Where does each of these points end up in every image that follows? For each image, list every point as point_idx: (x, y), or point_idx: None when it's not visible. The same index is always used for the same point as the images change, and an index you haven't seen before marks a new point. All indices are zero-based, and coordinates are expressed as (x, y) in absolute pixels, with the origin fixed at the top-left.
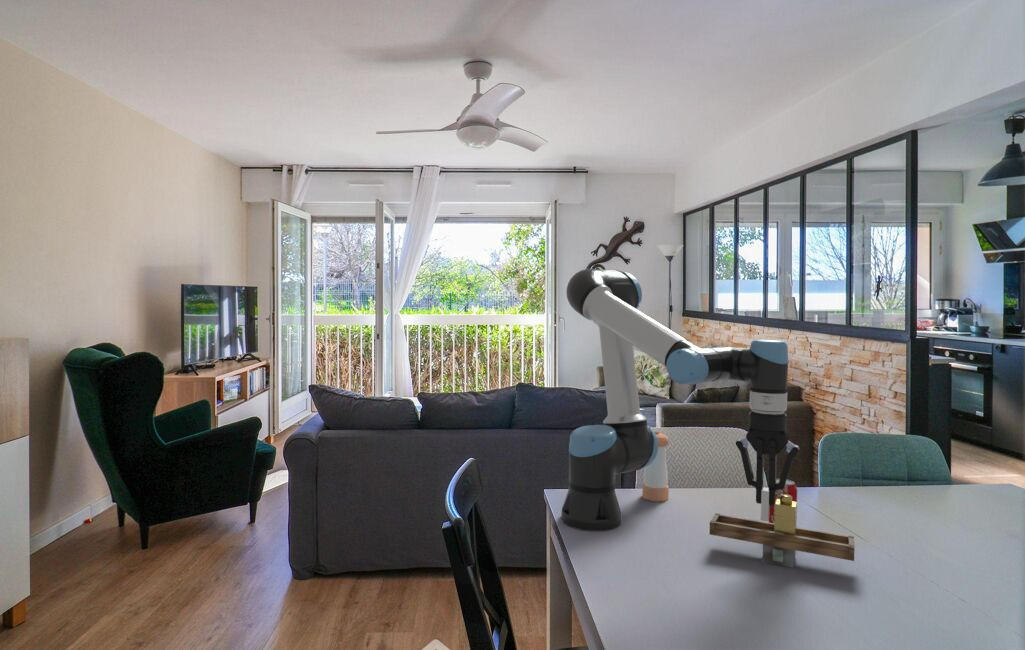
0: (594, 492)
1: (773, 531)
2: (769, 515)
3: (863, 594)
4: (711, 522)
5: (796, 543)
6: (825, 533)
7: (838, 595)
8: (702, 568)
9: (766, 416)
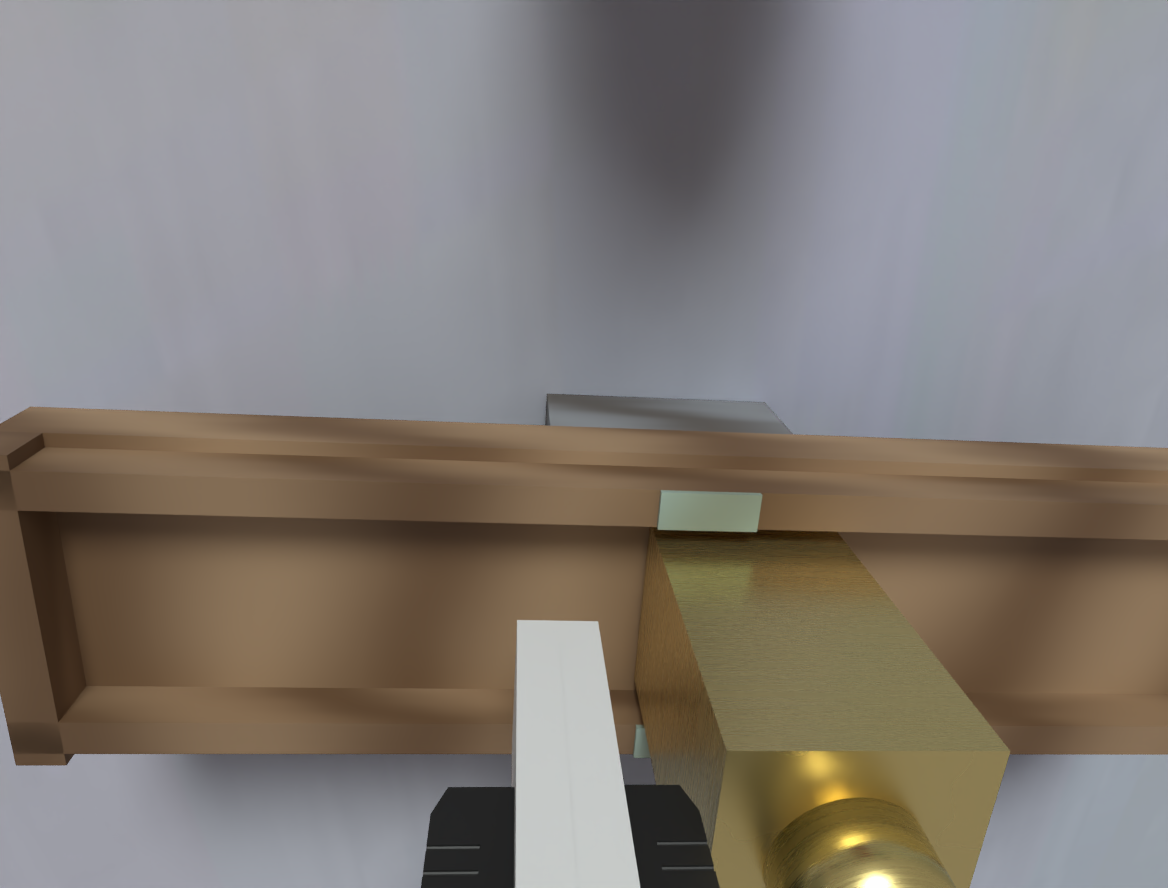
0: None
1: (626, 548)
2: (600, 638)
3: (1075, 755)
4: (32, 757)
5: None
6: (1113, 538)
7: None
8: (197, 846)
9: None
